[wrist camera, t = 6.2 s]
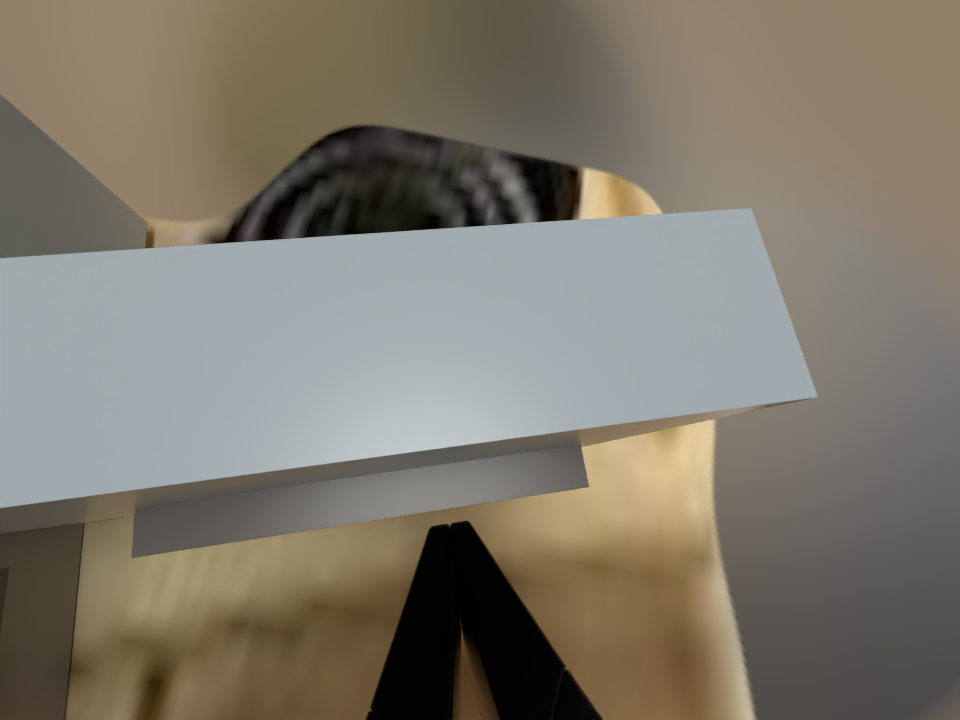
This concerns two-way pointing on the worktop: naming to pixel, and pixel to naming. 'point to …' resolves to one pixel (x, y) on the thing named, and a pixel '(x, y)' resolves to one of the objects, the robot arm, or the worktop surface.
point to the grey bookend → (351, 358)
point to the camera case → (37, 620)
